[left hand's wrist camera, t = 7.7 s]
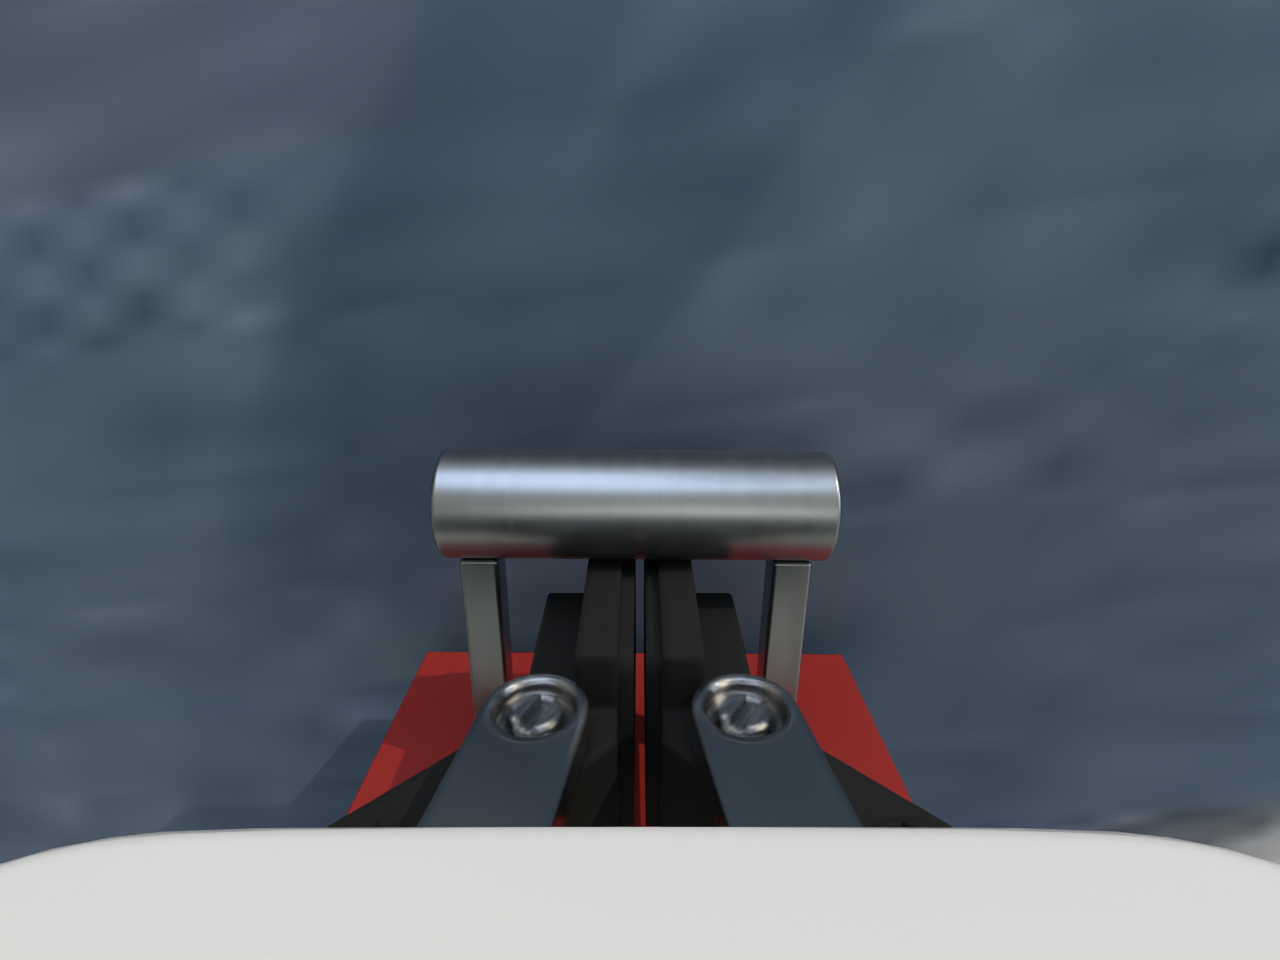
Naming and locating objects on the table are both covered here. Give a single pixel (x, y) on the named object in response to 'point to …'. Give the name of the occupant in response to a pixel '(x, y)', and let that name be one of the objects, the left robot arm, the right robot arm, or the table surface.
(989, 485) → the table surface
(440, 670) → the drawer
